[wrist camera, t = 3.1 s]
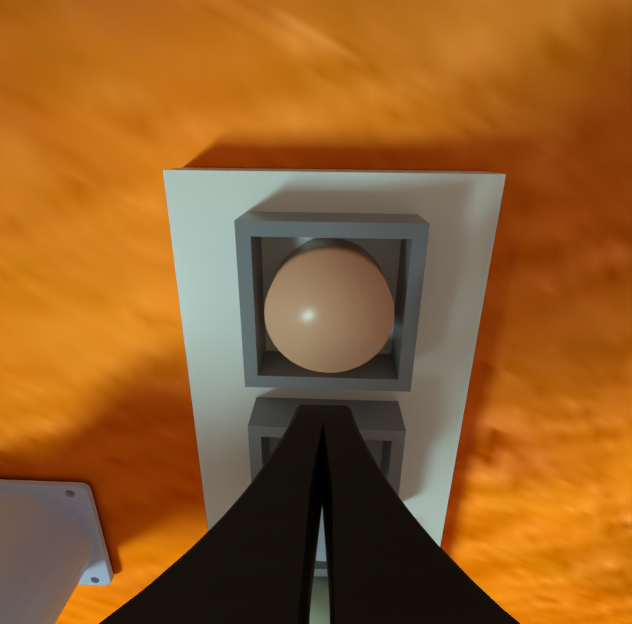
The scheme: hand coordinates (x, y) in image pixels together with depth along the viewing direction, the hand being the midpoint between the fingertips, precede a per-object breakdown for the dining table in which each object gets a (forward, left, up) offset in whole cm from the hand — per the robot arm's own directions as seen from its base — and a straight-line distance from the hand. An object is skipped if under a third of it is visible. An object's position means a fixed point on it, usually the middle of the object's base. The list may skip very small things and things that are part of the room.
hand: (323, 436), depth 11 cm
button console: (0, -6, -8) cm, 10 cm away
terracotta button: (0, +2, -6) cm, 6 cm away
